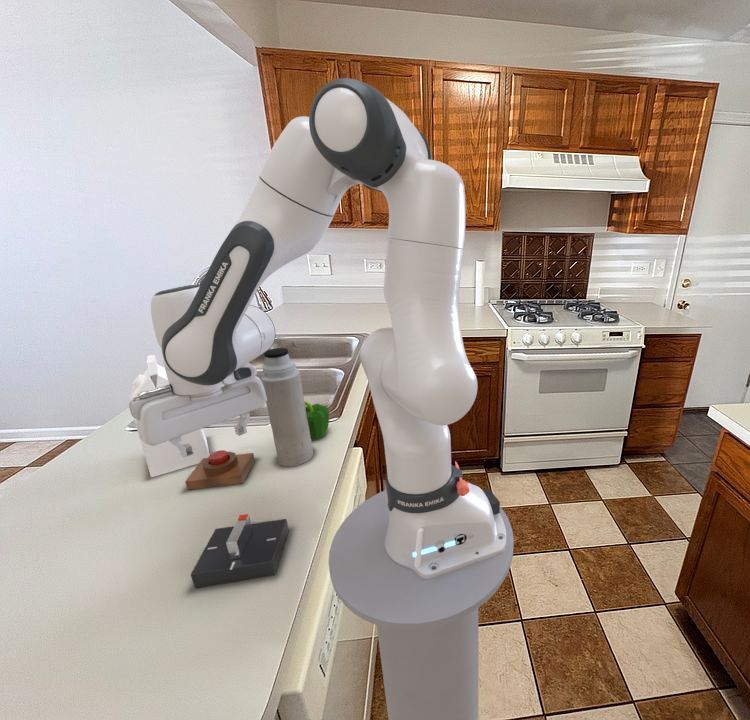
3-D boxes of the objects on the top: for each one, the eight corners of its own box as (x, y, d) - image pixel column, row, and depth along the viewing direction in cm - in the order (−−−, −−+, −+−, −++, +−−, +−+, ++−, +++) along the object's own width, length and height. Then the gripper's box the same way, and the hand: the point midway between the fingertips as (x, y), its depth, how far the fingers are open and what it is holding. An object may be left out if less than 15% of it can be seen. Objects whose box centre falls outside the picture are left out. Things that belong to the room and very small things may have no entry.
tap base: (289, 529, 76) (286, 516, 75) (274, 576, 66) (271, 562, 65) (220, 539, 73) (216, 526, 72) (193, 590, 63) (188, 575, 62)
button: (231, 455, 92) (229, 449, 92) (225, 464, 89) (223, 458, 89) (214, 457, 92) (212, 451, 91) (207, 466, 88) (205, 460, 88)
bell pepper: (338, 432, 109) (333, 399, 106) (312, 446, 103) (307, 412, 99) (318, 424, 113) (313, 392, 110) (292, 437, 107) (286, 404, 103)
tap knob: (241, 558, 66) (236, 540, 64) (230, 559, 65) (225, 542, 64) (253, 529, 72) (249, 512, 70) (243, 530, 71) (239, 514, 70)
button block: (255, 460, 97) (251, 446, 96) (242, 483, 89) (238, 468, 87) (205, 465, 95) (201, 451, 93) (187, 489, 86) (182, 474, 85)
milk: (210, 459, 97) (183, 360, 88) (151, 477, 91) (114, 372, 81) (206, 438, 106) (181, 347, 97) (152, 453, 99) (119, 356, 90)
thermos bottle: (309, 444, 104) (291, 342, 94) (316, 459, 97) (298, 352, 88) (275, 454, 99) (253, 348, 90) (281, 470, 93) (258, 359, 83)
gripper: (132, 401, 61) (155, 476, 66) (264, 364, 77) (275, 427, 81) (119, 391, 64) (142, 463, 69) (248, 358, 80) (260, 418, 85)
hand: (215, 443), depth 75 cm, fingers open, 8 cm apart
